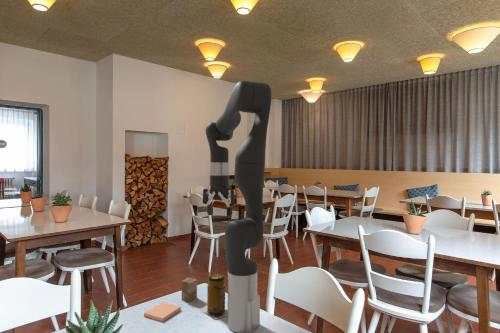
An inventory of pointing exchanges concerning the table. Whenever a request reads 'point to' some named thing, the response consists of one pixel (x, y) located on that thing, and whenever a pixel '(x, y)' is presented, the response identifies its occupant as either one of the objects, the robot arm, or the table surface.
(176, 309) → the tile
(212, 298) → the condiment
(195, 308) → the table surface
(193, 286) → the block
